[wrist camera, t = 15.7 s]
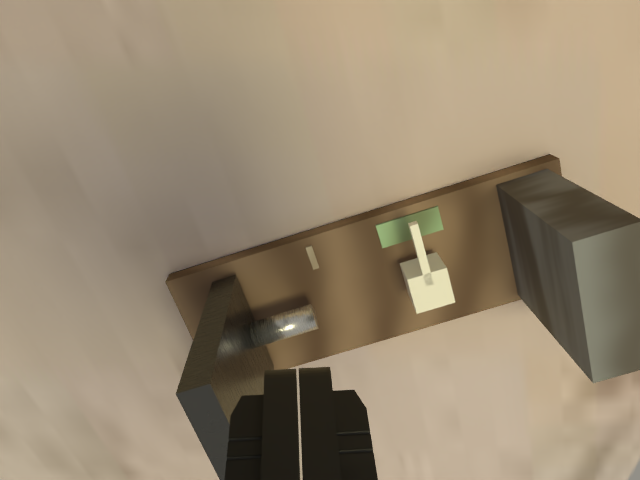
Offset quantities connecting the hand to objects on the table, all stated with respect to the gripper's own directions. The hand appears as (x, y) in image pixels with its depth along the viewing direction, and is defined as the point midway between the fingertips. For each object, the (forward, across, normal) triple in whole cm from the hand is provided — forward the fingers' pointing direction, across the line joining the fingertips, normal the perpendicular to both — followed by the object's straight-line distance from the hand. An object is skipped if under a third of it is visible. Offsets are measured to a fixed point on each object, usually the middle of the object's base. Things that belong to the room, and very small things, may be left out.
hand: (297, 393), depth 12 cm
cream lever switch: (+25, -10, +14) cm, 30 cm away
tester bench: (+27, -7, +18) cm, 33 cm away
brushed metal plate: (+24, +2, +20) cm, 32 cm away
